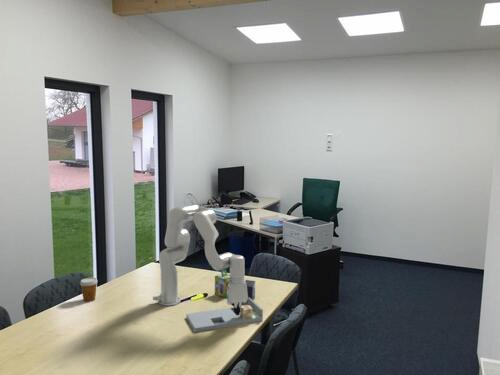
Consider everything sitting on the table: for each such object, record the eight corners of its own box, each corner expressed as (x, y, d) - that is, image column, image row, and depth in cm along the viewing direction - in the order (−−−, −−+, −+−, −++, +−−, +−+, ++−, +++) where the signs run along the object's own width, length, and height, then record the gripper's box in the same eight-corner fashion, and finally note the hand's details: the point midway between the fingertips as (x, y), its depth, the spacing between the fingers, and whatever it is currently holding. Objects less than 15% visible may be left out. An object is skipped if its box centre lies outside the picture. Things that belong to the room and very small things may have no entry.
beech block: (243, 319, 204) (243, 310, 203) (240, 315, 208) (240, 306, 208) (252, 318, 205) (252, 308, 205) (249, 314, 210) (249, 305, 210)
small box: (252, 304, 230) (252, 286, 229) (241, 303, 231) (241, 285, 230) (255, 297, 240) (255, 280, 239) (245, 296, 241) (245, 279, 240)
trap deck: (195, 332, 193) (195, 320, 193) (186, 317, 210) (186, 306, 209) (262, 320, 207) (262, 309, 207) (249, 307, 224) (249, 297, 223)
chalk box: (225, 298, 238) (225, 274, 237) (214, 294, 244) (214, 271, 242) (235, 294, 245) (235, 270, 244) (224, 290, 251) (224, 267, 249)
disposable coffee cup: (101, 297, 238) (100, 277, 236) (93, 303, 228) (92, 283, 227) (85, 296, 238) (85, 277, 237) (77, 302, 229) (76, 282, 228)
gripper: (225, 283, 198) (225, 319, 200) (253, 280, 203) (253, 314, 205) (221, 279, 205) (221, 313, 207) (247, 276, 210) (247, 309, 212)
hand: (237, 314), depth 206 cm, fingers closed
